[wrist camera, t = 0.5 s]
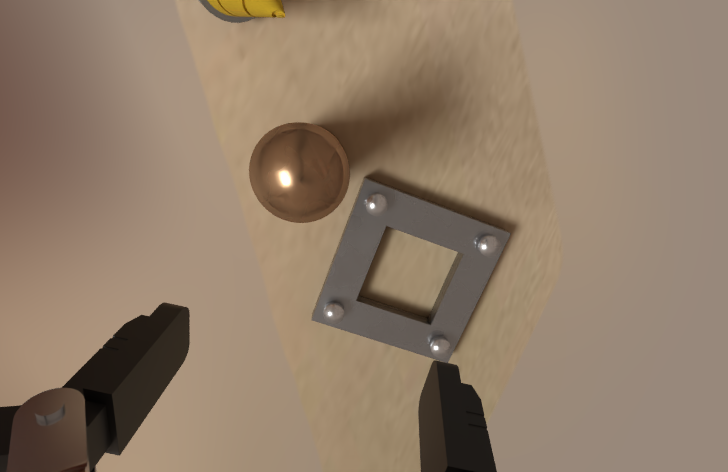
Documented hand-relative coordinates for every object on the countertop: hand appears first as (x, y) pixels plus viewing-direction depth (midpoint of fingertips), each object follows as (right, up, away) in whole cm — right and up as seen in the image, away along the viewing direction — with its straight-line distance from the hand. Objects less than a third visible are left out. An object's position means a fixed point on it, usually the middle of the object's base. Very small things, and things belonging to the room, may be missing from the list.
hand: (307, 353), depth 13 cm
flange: (+5, +1, +19) cm, 20 cm away
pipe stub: (-2, +10, +17) cm, 19 cm away
